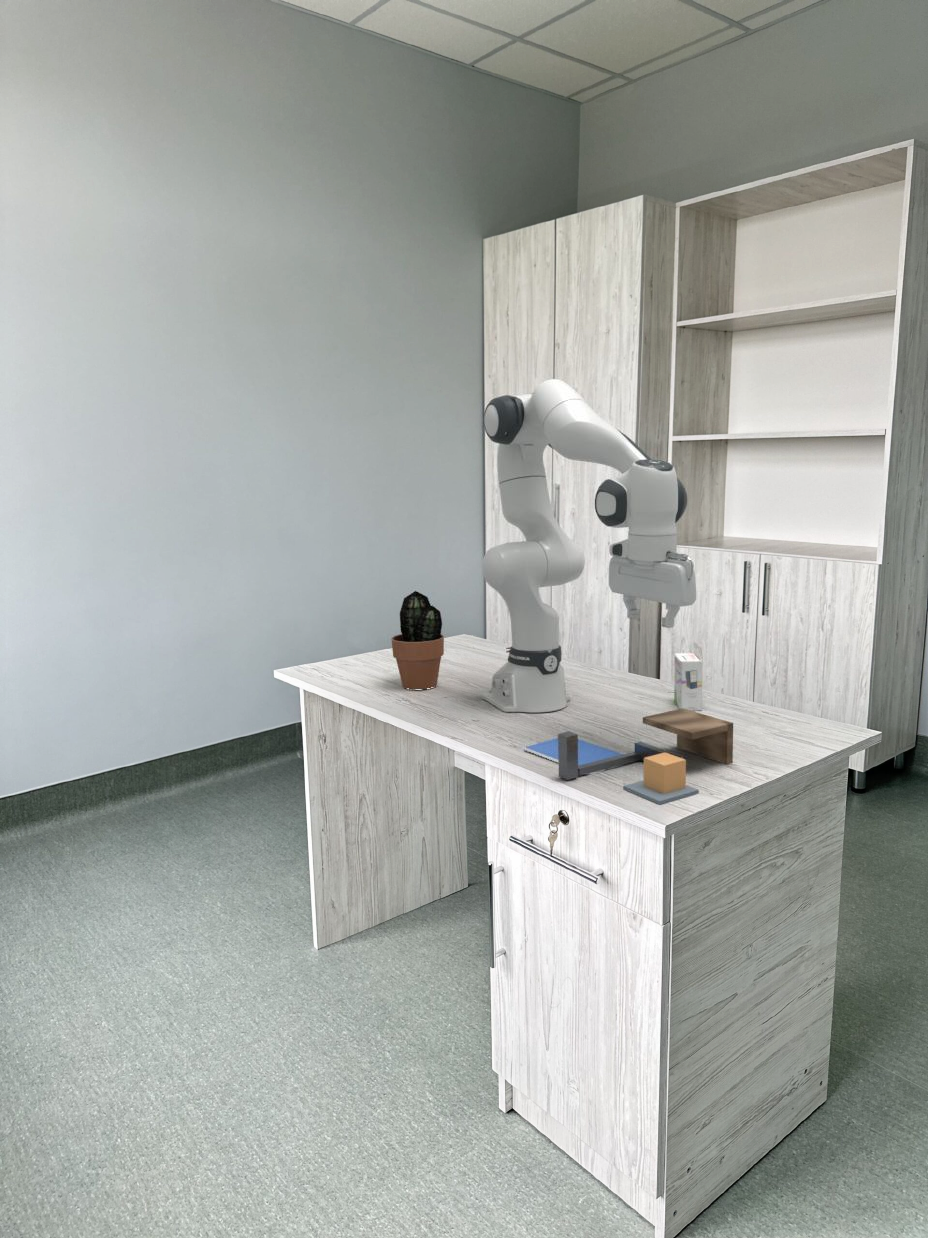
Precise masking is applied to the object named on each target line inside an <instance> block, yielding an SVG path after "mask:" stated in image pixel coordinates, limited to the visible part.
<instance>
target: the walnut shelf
mask: <svg viewBox="0 0 928 1238" xmlns="http://www.w3.org/2000/svg"><path fill="white" fill-rule="evenodd" d="M642 724H644V725H647V726H650V727H653V728H656V729H658V730H662V731H665V732H668V733H672V734H675V735H676V748H678V749H682V750H685V751H687V752H690V753H693V754H696V755H699V756H701V757H702V756H703V757H705V758H707V759H711V760H713V761H716V762H720V763H722V764H725V765H730V764H733V762H734V761H733V759H734V722H731V721H727V720H724V719H720V718H716V717H713V716H711V715H707V714H703V713H701V712H697V711H690V710H687V709H684V708H682V709H680V708H679V709H678V708H677V709H673V710H670V711H665V712H660V713H657V714H656V713H655V714H652V715H646V716H644V717H642Z"/></svg>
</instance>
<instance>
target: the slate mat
mask: <svg viewBox="0 0 928 1238" xmlns="http://www.w3.org/2000/svg"><path fill="white" fill-rule="evenodd" d="M622 787H623V788H622V789H623V790H625V791H627V792H629V793H631V794H634V795H636V796H638V797H641V798H643V799H646V800H648V801H650V802H652V803H655V804H658V805H660V806H661V805H663V804H666V803H670V802H673V801H677V800H680V799H683V798H687V797H690V796H695V795H697V794H699V793H700V790H699V789H698V788H696V787H693V786H690V785H688V784H686V788H683V789H679V790H676V791H672V792H669V793H665V794H663V793H661V792H658V791H656V790H654V789H651V788H649V787H646V786H644V779H643V780H639V781H636V782H632V783H629V784H626V785H623V786H622Z"/></svg>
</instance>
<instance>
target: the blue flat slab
mask: <svg viewBox="0 0 928 1238" xmlns="http://www.w3.org/2000/svg"><path fill="white" fill-rule="evenodd" d="M523 751H524V752H526V751H527V752H526V753H529V752H531V753H530V754H532V753H534V754H533V755H535V754H536V755H535V756H538V755H539V756H538V757H540V756H542V757H541V758H543V757H545V758H547V759H546V760H548V759H549V760H548V761H551V760H552V762H553V761H554V762H553V763H556V762H557V763H556V764H559V762H558V737H557V738H553V739H549V740H546V741H541V742H538V743H535V744H531V745H527V746H525V747H524V748H523ZM623 754H624V753H622V752H619V751H616V750H613V749H610V748H607V747H603V746H601V745H598V744H595V743H592V742H589V741H586V740H582V739H580V738H578V766H579V765H583V764H587V763H591V762H595V761H599V760H603V759H607V758H611V757H615V756H619V755H623ZM545 758H544V759H545ZM623 765H624V766H625V764H623ZM623 765H619V766H615V767H611V768H607V769H603V770H600V771H596V772H592V773H588V774H587V775H589V774H591V775H594V774H598V773H600V772H601V771H602V772H605V771H608V770H610V769H614V768H617V767H620V766H623Z"/></svg>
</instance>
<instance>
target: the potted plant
mask: <svg viewBox="0 0 928 1238" xmlns="http://www.w3.org/2000/svg"><path fill="white" fill-rule="evenodd" d="M442 619H443V618H442V614H441V611H440V610H439V609H437V608H436V607H435V606H434V605H431V602H430V600H429V598H428V596H427V595H424V594H422V593H421V592H418V591H417V590H414V591H413V592H412V593H410V594H408V595H407V596H405V597H404V598H403V601H402V605H401V608H400V611H399V622H400V623H399V625H400V634H397V635H394V636H391V647H392V649H391V651H392V657H393V658H394V659H395V661H396V665H397V668H398V671H399V677H400V681H401V685H402V688H403V687H405V688H409V689H427V688H431V687H434V686H436V685H437V686H438V679H439V673H440V668H441V667H440V666H441V660H442V657H443V656H444V654H445V653H444V652H445V651H444V650H445V647H444V646H445V645H444V644H445V635H443V634H442V630H443V629H442V627H443V620H442ZM437 686H436V687H437ZM405 688H404V689H405ZM434 688H435V687H434Z"/></svg>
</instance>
